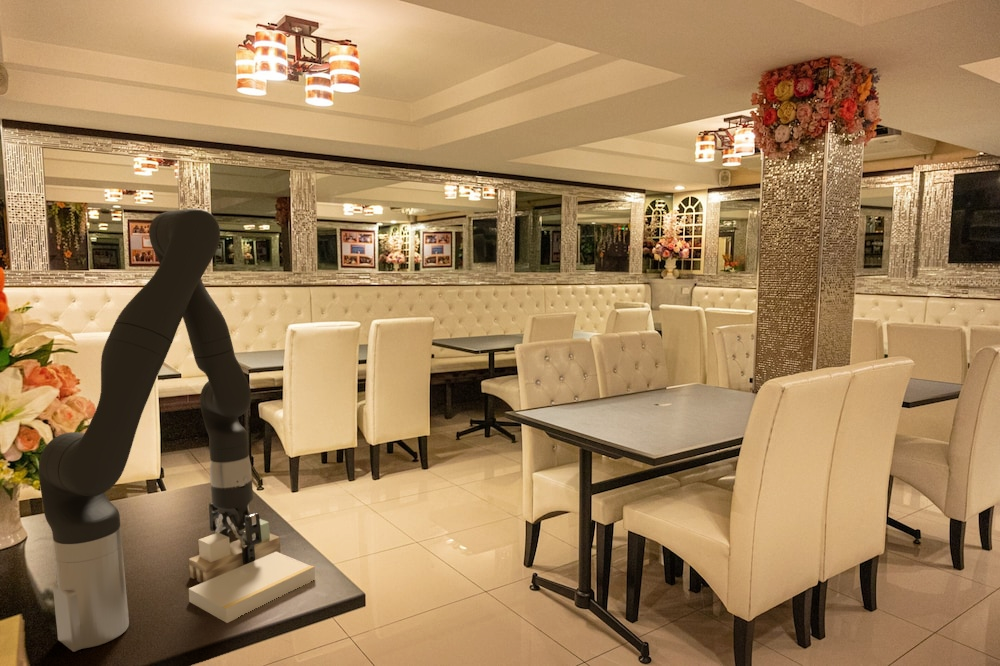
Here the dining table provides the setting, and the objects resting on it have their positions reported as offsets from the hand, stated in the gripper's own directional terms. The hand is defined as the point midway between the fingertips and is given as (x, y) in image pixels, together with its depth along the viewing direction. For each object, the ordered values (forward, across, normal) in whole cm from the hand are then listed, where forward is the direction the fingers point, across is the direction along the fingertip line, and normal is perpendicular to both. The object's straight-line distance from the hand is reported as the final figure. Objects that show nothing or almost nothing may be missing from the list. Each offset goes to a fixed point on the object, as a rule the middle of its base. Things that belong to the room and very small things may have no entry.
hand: (236, 558), depth 131 cm
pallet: (+2, 0, 0) cm, 2 cm away
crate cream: (-2, 0, -4) cm, 5 cm away
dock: (+1, +12, -4) cm, 13 cm away
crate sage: (-2, 0, +4) cm, 5 cm away
